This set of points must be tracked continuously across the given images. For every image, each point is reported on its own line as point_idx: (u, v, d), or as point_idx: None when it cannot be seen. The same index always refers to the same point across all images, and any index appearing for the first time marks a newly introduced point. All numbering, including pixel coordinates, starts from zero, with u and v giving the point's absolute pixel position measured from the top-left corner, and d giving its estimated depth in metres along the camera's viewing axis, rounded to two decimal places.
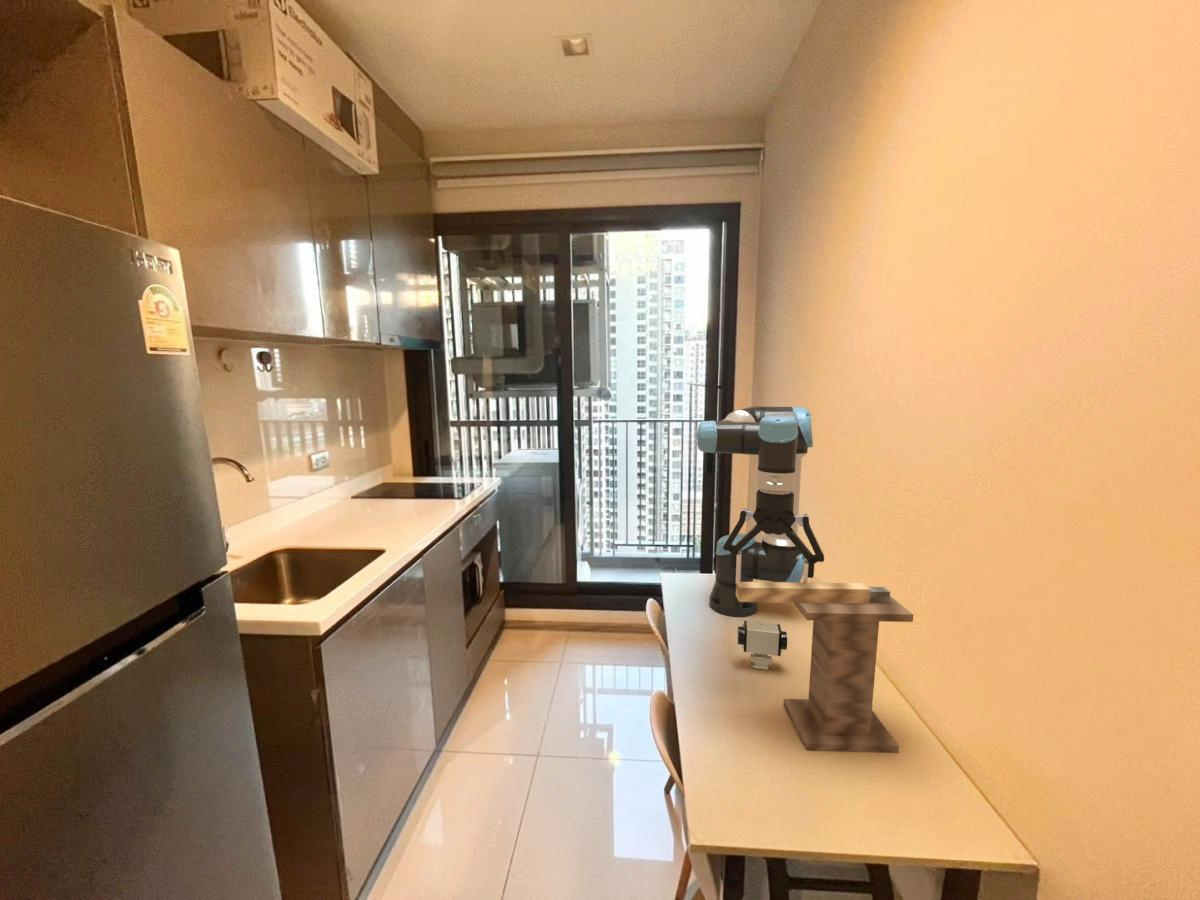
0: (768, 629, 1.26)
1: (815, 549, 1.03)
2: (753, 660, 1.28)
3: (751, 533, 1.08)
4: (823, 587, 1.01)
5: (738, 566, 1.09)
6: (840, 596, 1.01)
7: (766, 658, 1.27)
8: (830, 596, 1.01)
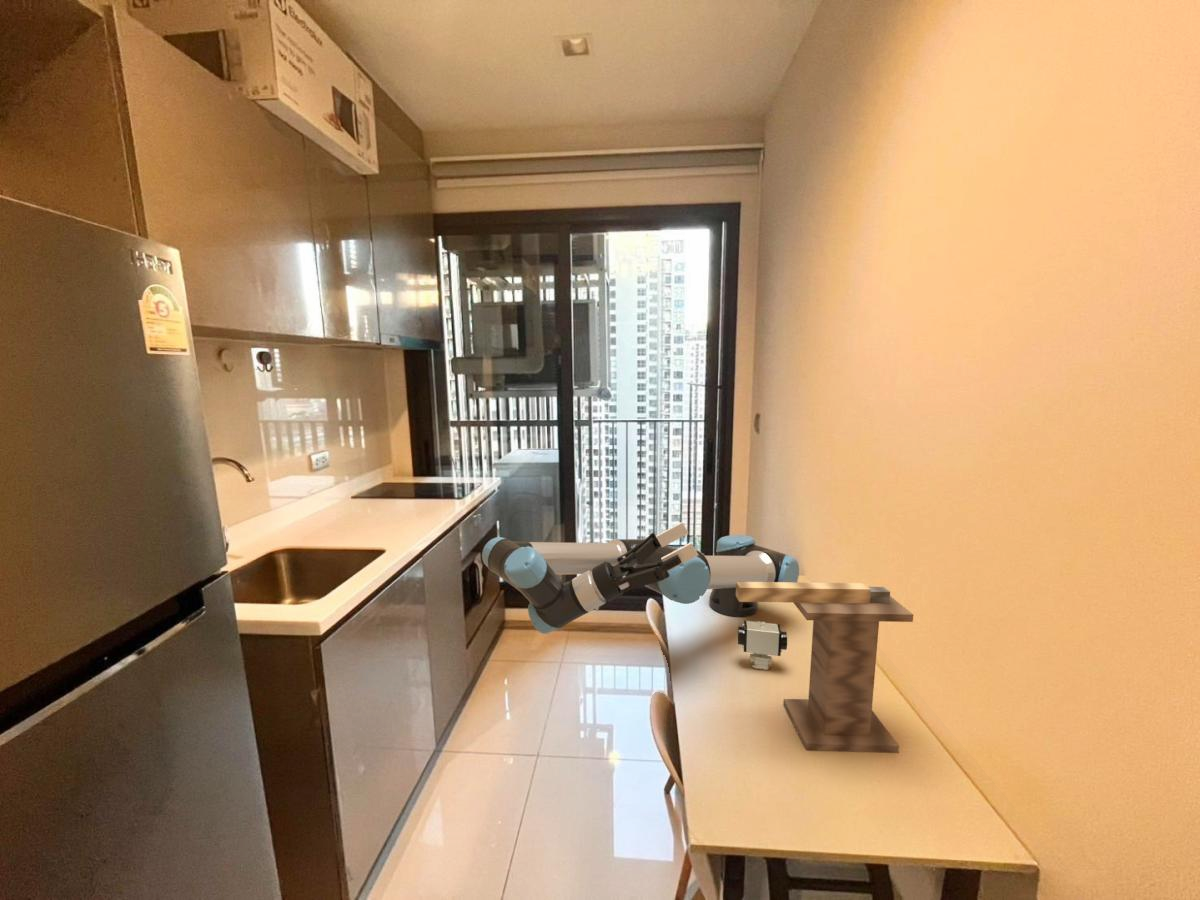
0: (768, 629, 1.26)
1: None
2: (753, 660, 1.28)
3: None
4: (823, 587, 1.01)
5: None
6: (840, 596, 1.01)
7: (766, 658, 1.27)
8: (830, 596, 1.01)
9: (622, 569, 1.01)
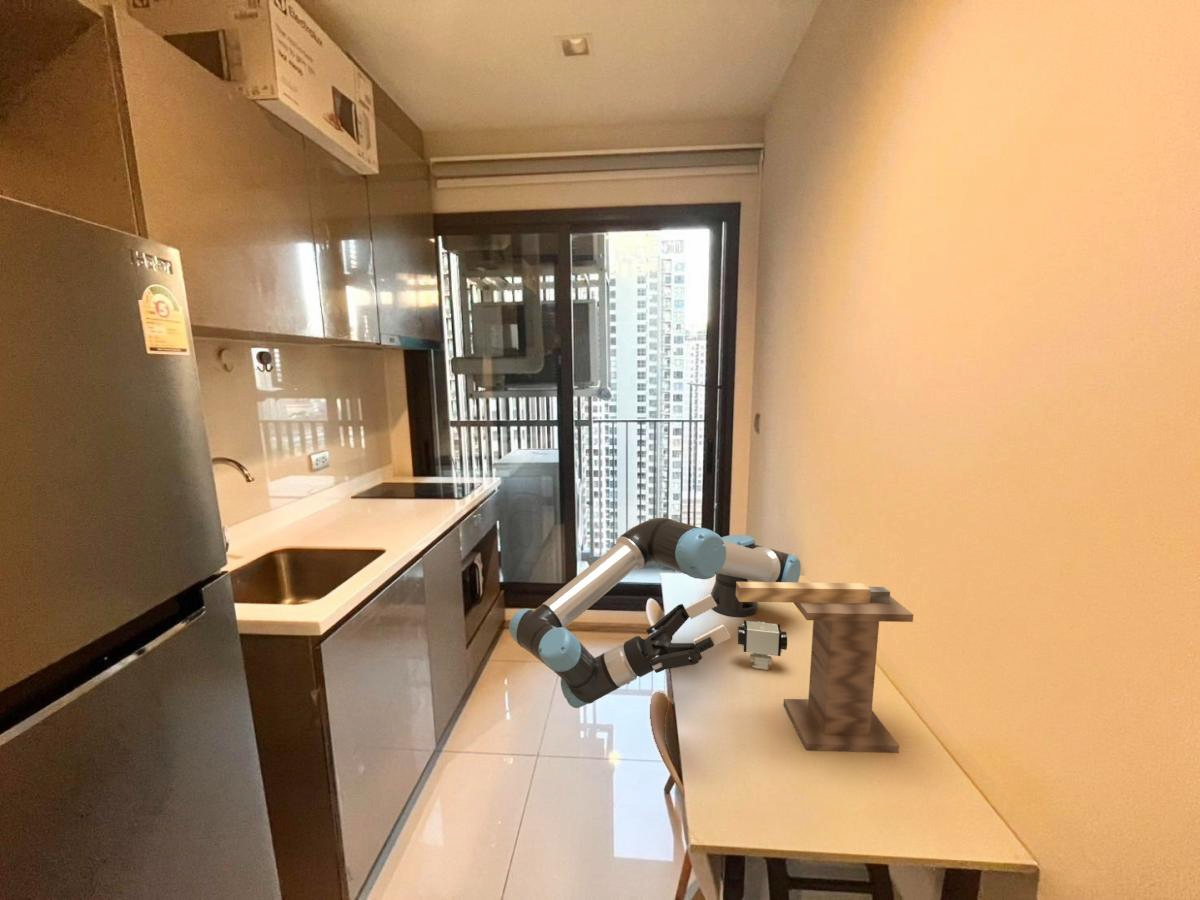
0: (768, 629, 1.26)
1: None
2: (753, 660, 1.28)
3: None
4: (823, 587, 1.01)
5: None
6: (840, 596, 1.01)
7: (766, 658, 1.27)
8: (830, 596, 1.01)
9: (654, 646, 1.03)
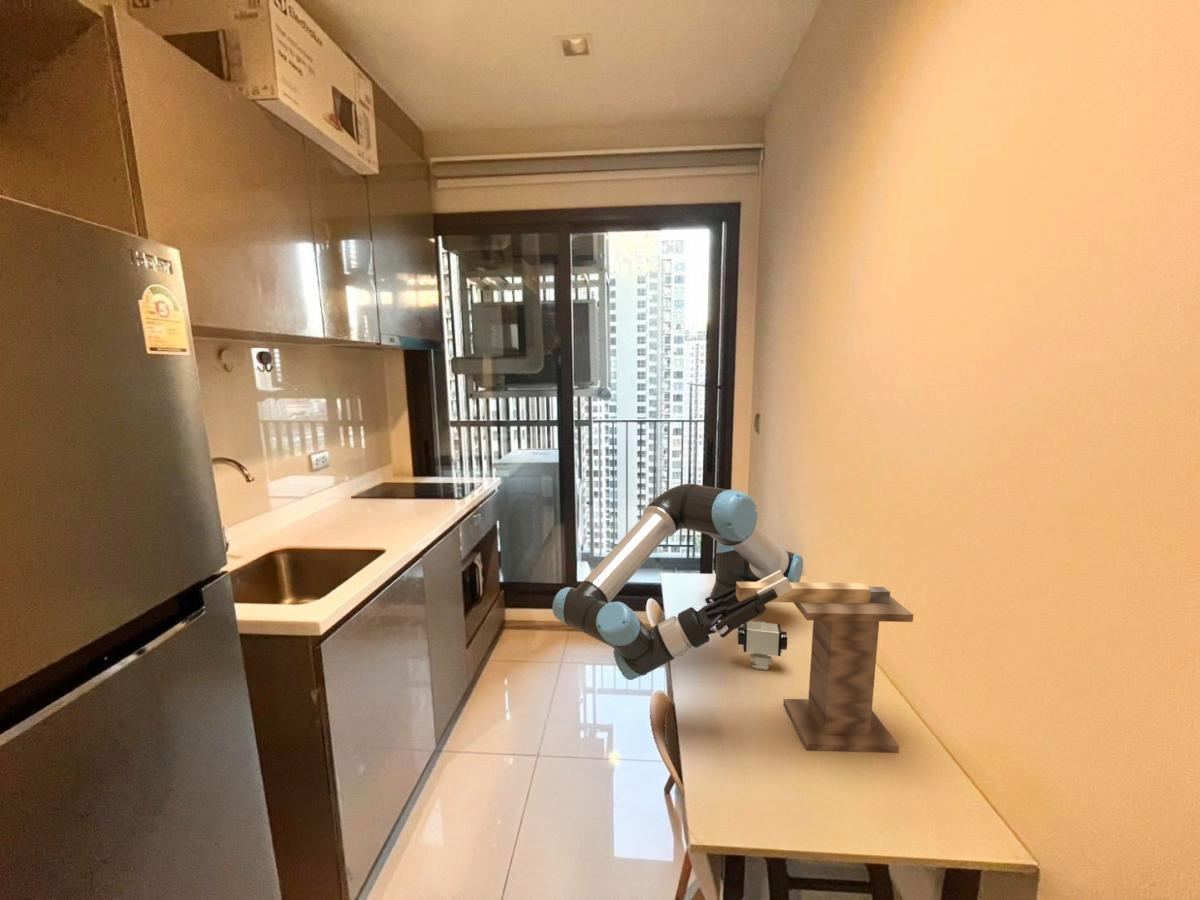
0: (768, 629, 1.26)
1: None
2: (753, 660, 1.28)
3: None
4: (823, 587, 1.01)
5: None
6: (840, 596, 1.01)
7: (766, 658, 1.27)
8: (830, 596, 1.01)
9: (712, 615, 1.02)
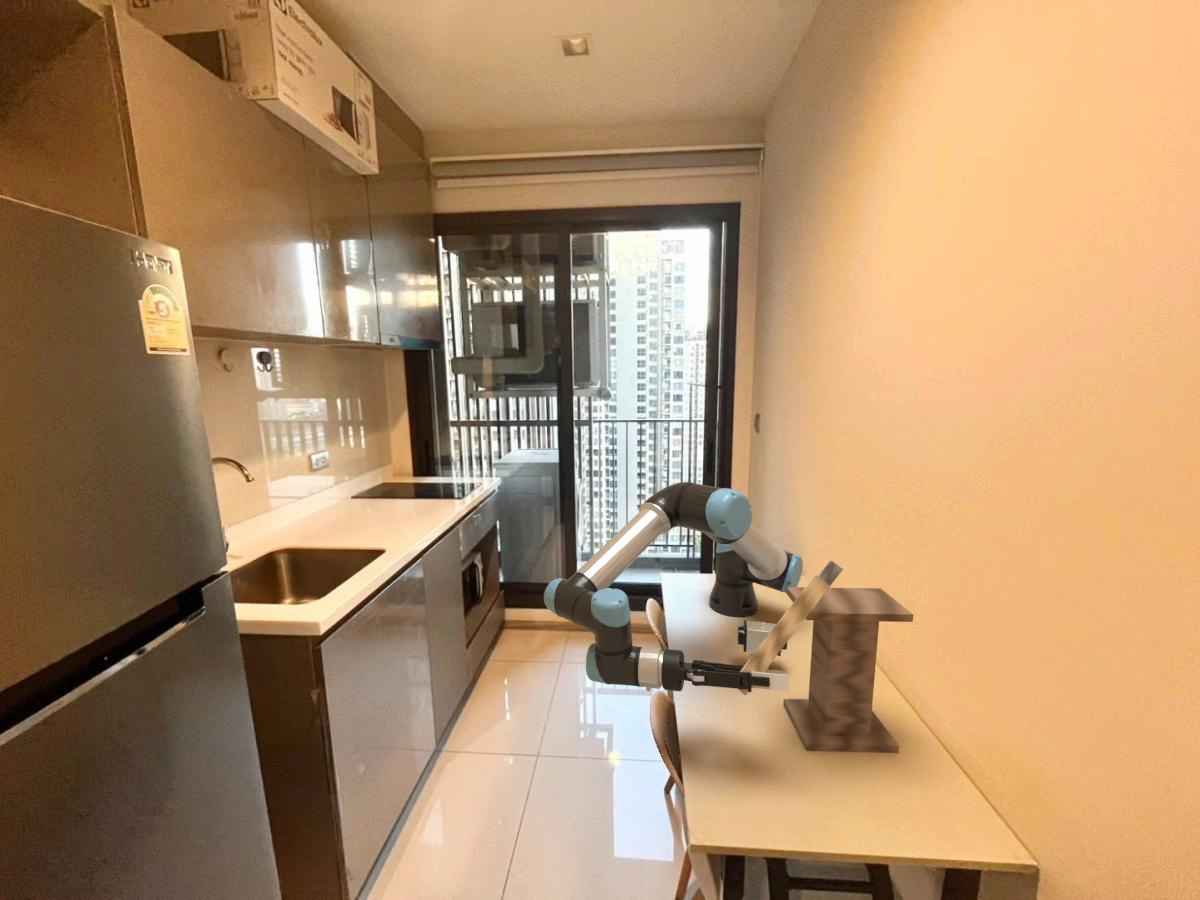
0: (768, 629, 1.26)
1: None
2: None
3: None
4: (786, 612, 0.96)
5: None
6: (804, 605, 0.95)
7: None
8: (798, 613, 0.95)
9: (696, 666, 0.97)
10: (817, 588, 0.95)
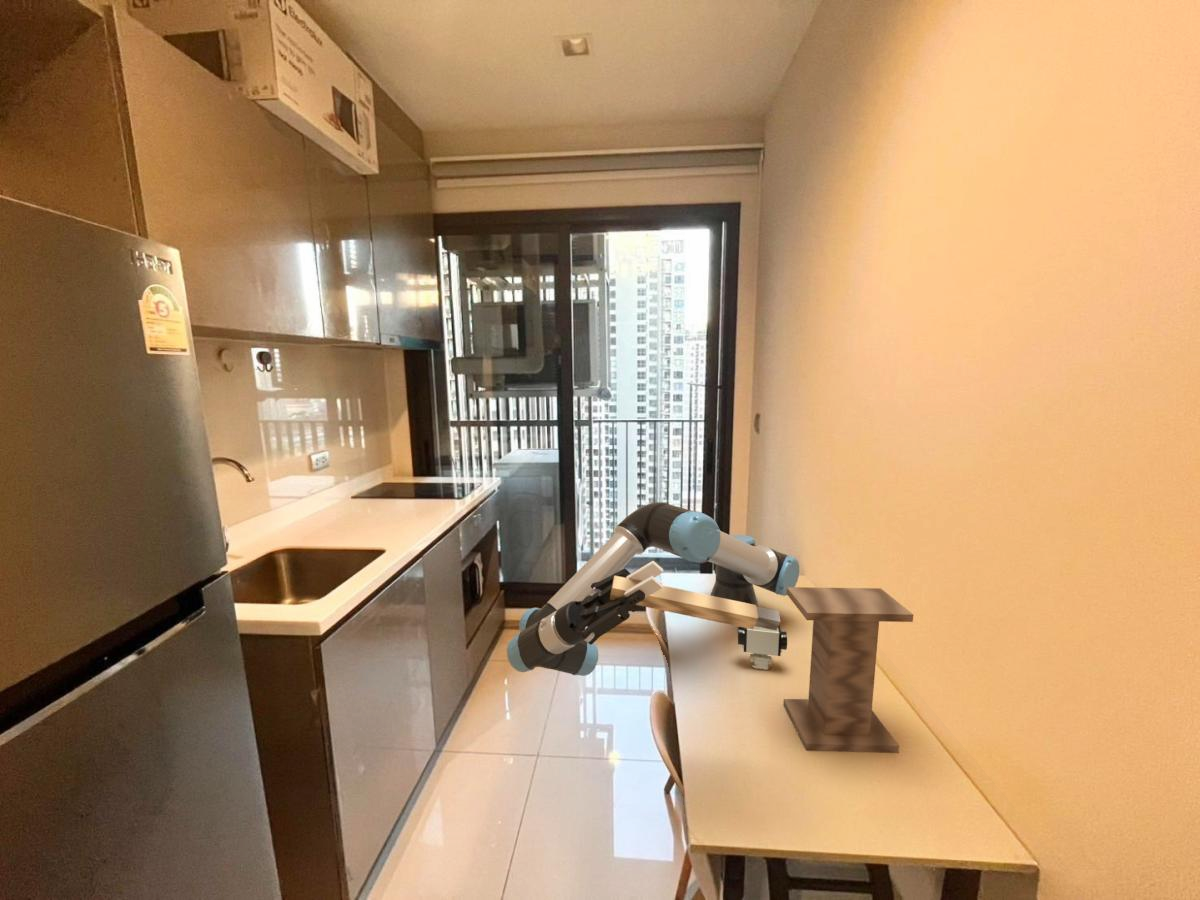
0: (768, 629, 1.26)
1: None
2: (753, 660, 1.28)
3: (599, 610, 0.91)
4: None
5: (634, 586, 0.88)
6: None
7: (766, 658, 1.27)
8: None
9: None
10: None
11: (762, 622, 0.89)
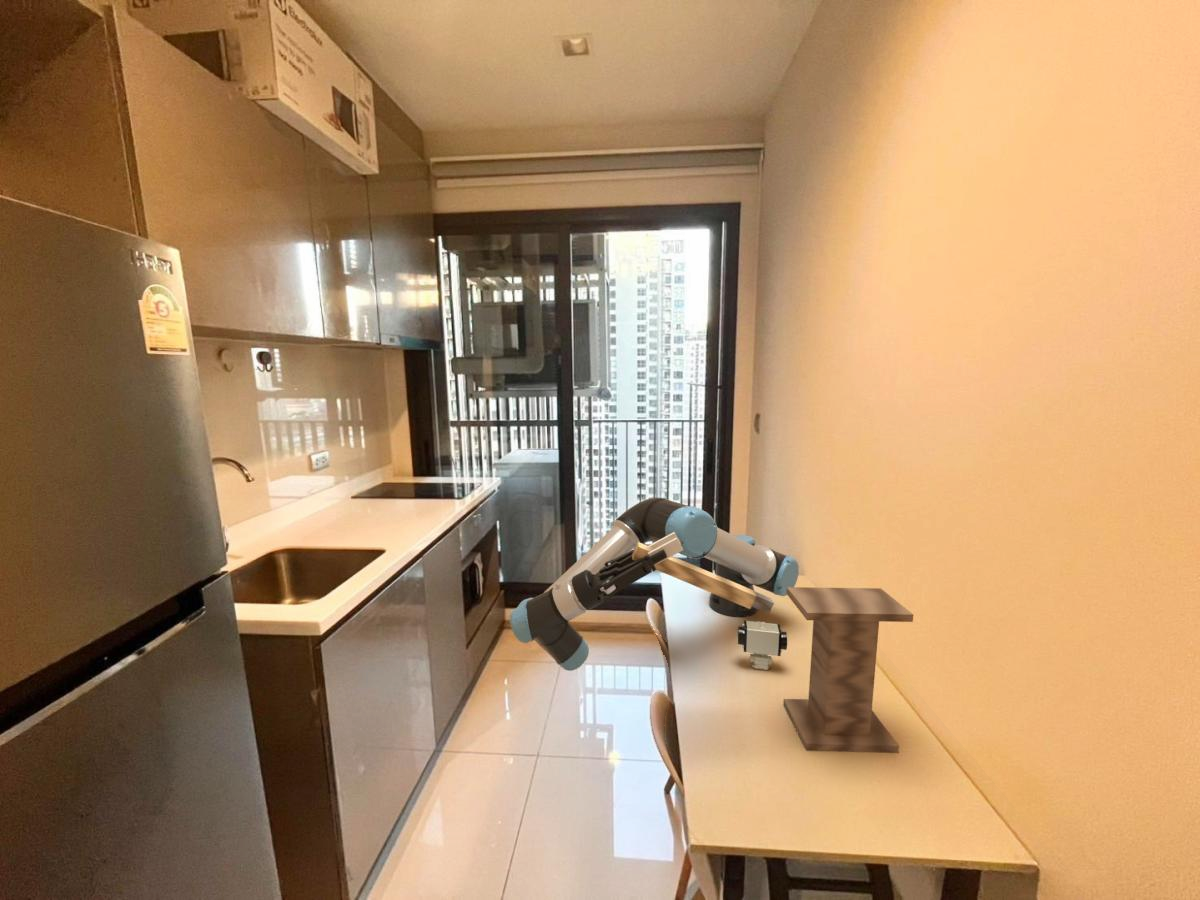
0: (768, 629, 1.26)
1: (632, 551, 1.07)
2: (753, 660, 1.28)
3: (621, 569, 1.01)
4: None
5: (658, 547, 1.00)
6: None
7: (766, 658, 1.27)
8: None
9: None
10: None
11: (758, 602, 1.02)
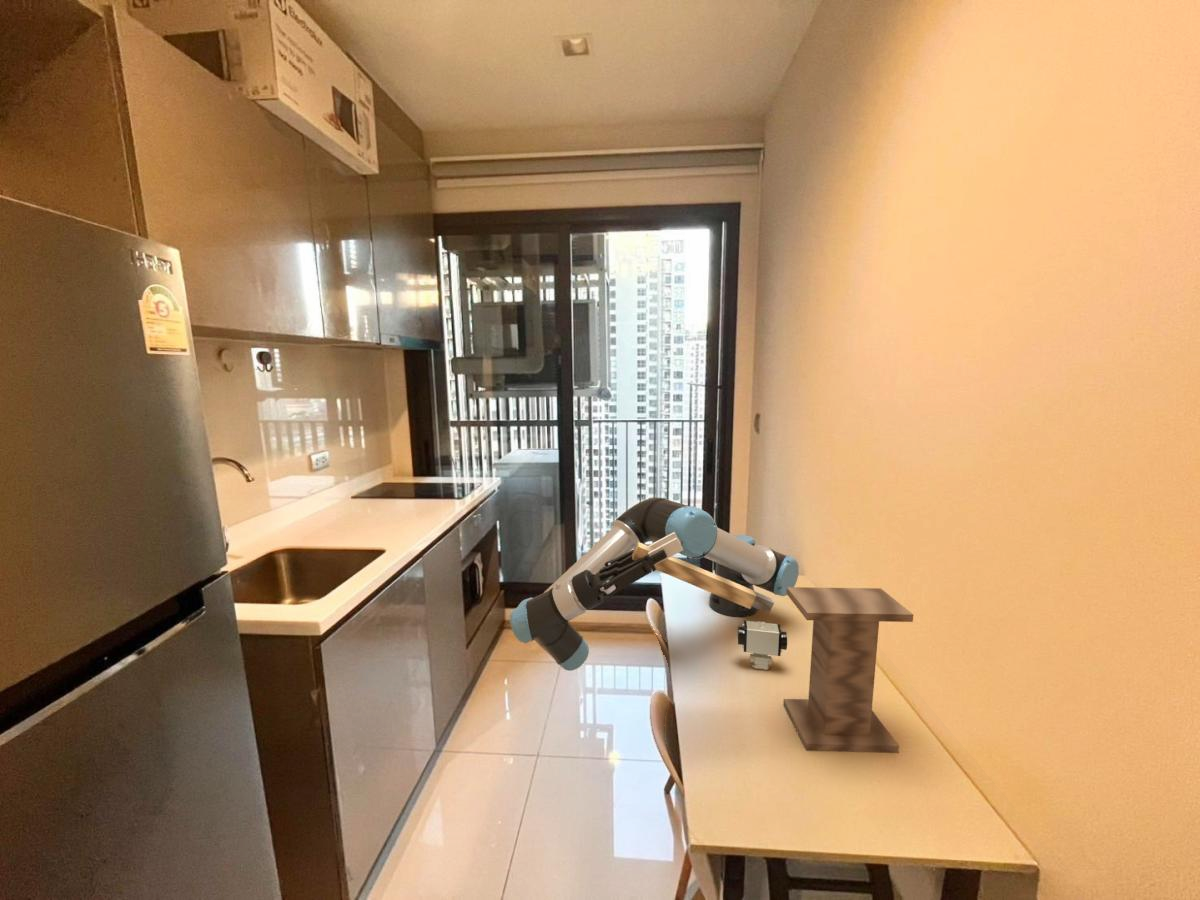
0: (768, 629, 1.26)
1: (632, 551, 1.07)
2: (753, 660, 1.28)
3: (621, 569, 1.01)
4: None
5: (658, 547, 1.00)
6: None
7: (766, 658, 1.27)
8: None
9: None
10: None
11: (758, 602, 1.02)
